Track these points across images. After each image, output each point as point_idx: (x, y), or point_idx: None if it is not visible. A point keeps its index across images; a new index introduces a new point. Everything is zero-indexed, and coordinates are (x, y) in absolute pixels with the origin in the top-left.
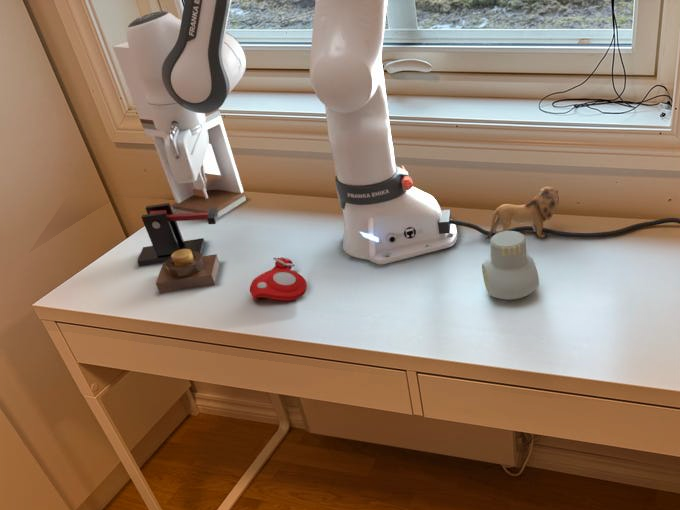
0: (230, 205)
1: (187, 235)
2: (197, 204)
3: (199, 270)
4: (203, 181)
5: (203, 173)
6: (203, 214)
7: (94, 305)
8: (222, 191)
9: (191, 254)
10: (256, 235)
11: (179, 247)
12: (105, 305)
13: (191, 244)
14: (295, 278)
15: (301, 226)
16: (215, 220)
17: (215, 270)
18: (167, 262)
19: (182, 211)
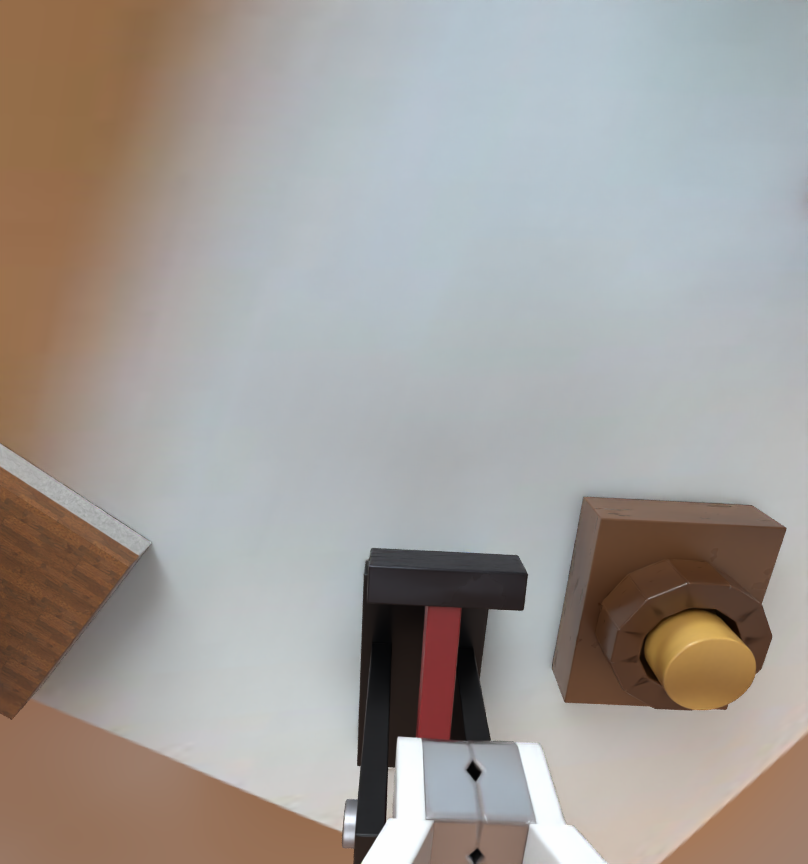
0: (26, 479)
1: (265, 628)
2: (25, 625)
3: (729, 576)
4: (545, 798)
5: (428, 841)
6: (455, 632)
7: (662, 826)
8: None
9: (722, 632)
10: (369, 348)
11: (458, 660)
12: (680, 802)
13: (407, 615)
14: None
15: (349, 94)
16: (504, 560)
17: (694, 512)
18: (676, 704)
19: (53, 669)
